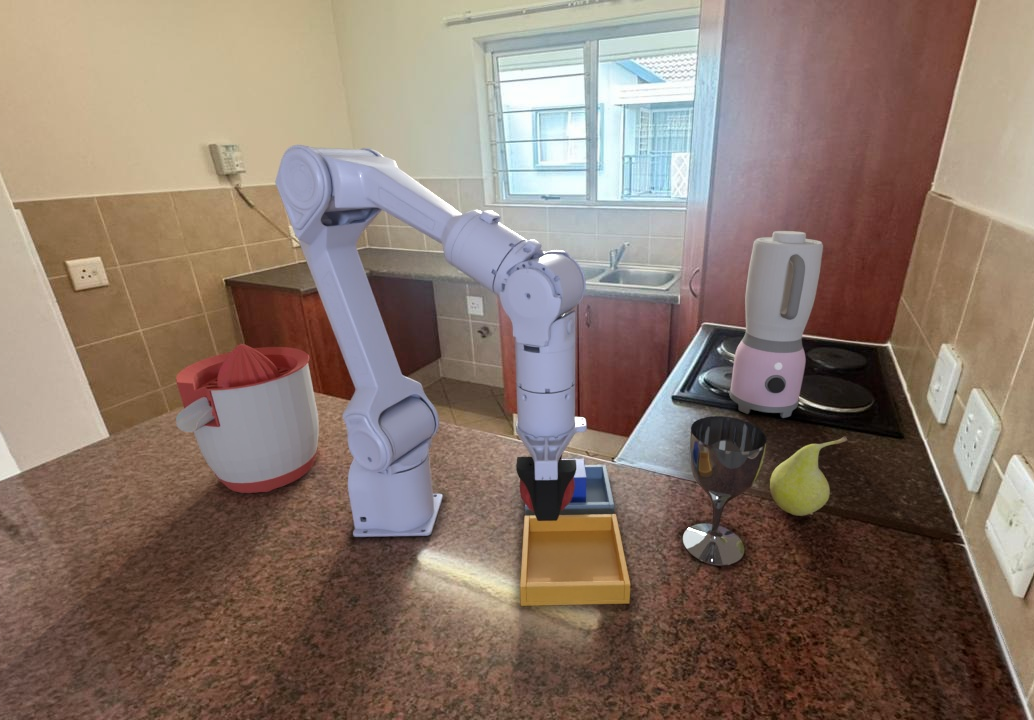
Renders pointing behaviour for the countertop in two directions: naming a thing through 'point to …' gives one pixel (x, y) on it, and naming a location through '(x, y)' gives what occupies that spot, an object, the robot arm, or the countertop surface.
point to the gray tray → (591, 495)
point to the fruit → (801, 481)
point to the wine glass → (722, 480)
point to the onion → (566, 498)
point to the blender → (776, 322)
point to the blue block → (579, 482)
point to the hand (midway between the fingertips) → (547, 499)
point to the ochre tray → (573, 561)
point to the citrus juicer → (252, 415)
